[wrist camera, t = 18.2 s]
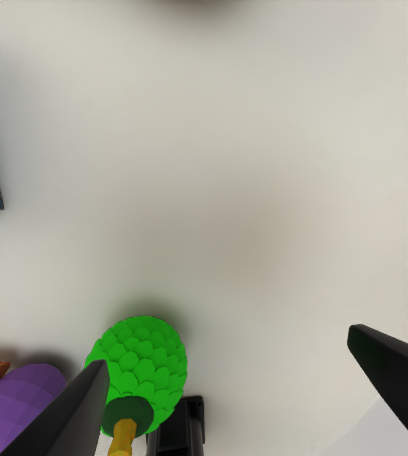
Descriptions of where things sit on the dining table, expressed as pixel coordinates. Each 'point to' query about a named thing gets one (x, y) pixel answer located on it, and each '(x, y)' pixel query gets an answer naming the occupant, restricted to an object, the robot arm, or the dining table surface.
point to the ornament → (139, 378)
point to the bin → (1, 203)
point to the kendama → (25, 396)
